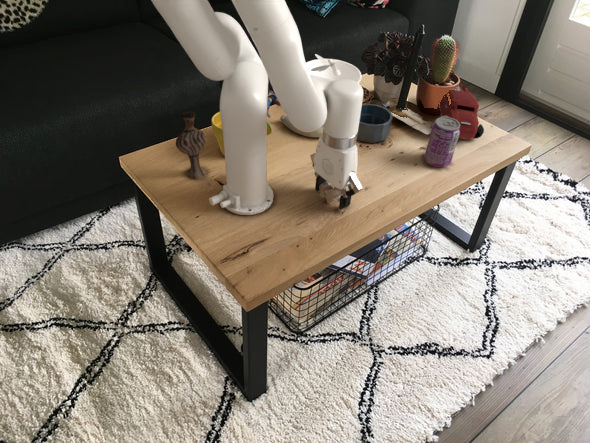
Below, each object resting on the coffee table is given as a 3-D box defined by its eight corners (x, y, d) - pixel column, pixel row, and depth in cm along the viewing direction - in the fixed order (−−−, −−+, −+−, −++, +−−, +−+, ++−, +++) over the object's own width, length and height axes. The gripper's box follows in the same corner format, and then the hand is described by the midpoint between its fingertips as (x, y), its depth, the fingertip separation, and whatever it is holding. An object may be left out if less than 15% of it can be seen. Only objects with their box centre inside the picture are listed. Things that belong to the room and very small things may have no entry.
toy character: (338, 202, 125) (326, 182, 125) (349, 194, 117) (336, 172, 118) (325, 210, 124) (313, 190, 124) (335, 202, 116) (322, 180, 116)
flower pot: (240, 135, 141) (239, 104, 134) (259, 154, 135) (259, 122, 128) (207, 146, 136) (204, 115, 130) (225, 166, 130) (223, 134, 124)
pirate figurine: (220, 99, 132) (255, 63, 137) (227, 128, 143) (260, 93, 148) (262, 124, 128) (296, 86, 133) (266, 151, 140) (297, 115, 145)
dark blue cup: (368, 148, 139) (372, 130, 135) (340, 130, 145) (342, 112, 141) (397, 135, 145) (400, 116, 141) (368, 117, 151) (371, 99, 147)
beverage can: (448, 154, 138) (460, 116, 130) (451, 170, 133) (464, 131, 125) (422, 152, 139) (432, 114, 131) (425, 167, 134) (435, 129, 125)
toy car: (464, 101, 162) (476, 72, 155) (484, 150, 141) (499, 119, 135) (420, 93, 161) (431, 64, 154) (434, 142, 140) (447, 110, 134)
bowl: (313, 76, 168) (315, 53, 163) (367, 92, 162) (371, 68, 157) (286, 102, 156) (287, 77, 150) (343, 120, 150) (346, 95, 144)
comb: (425, 139, 142) (444, 133, 149) (428, 131, 141) (447, 126, 147) (386, 116, 150) (405, 111, 156) (388, 109, 148) (408, 104, 155)
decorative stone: (285, 117, 149) (285, 107, 147) (331, 133, 144) (332, 123, 142) (274, 127, 145) (274, 117, 143) (322, 143, 140) (322, 133, 138)
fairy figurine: (344, 68, 148) (335, 51, 151) (323, 70, 146) (314, 53, 149) (338, 83, 153) (330, 66, 156) (318, 85, 151) (309, 69, 154)
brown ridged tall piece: (182, 182, 125) (173, 119, 113) (178, 170, 129) (168, 108, 116) (211, 176, 127) (205, 114, 115) (206, 165, 131) (200, 103, 118)
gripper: (301, 124, 113) (297, 185, 125) (355, 161, 103) (346, 223, 115) (325, 114, 116) (319, 174, 128) (380, 149, 107) (368, 210, 119)
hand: (332, 197), depth 122 cm, fingers open, 7 cm apart
